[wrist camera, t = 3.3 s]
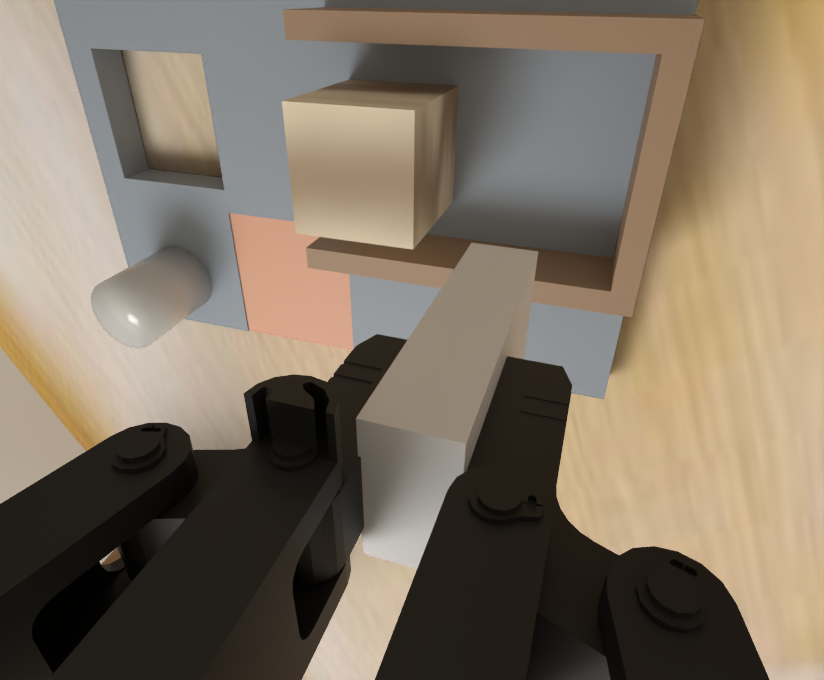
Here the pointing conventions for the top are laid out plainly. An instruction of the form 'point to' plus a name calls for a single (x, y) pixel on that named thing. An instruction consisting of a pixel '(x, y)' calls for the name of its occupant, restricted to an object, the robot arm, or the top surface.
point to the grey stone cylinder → (151, 296)
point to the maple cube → (371, 160)
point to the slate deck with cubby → (474, 155)
